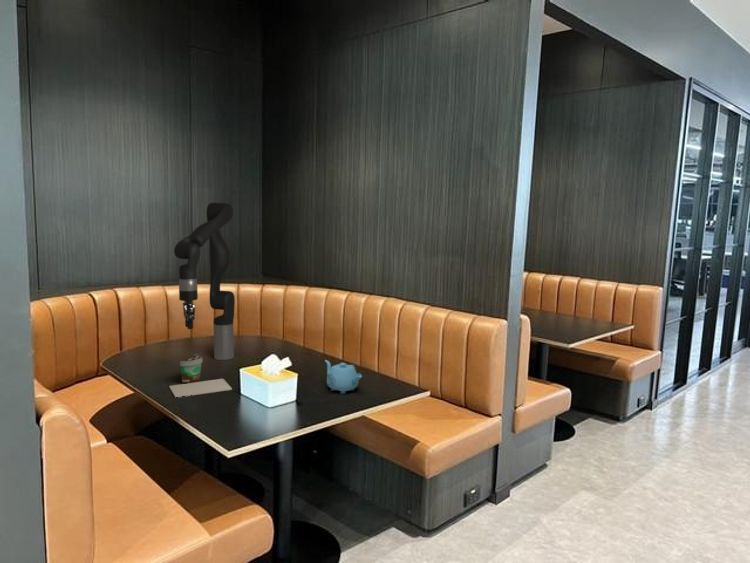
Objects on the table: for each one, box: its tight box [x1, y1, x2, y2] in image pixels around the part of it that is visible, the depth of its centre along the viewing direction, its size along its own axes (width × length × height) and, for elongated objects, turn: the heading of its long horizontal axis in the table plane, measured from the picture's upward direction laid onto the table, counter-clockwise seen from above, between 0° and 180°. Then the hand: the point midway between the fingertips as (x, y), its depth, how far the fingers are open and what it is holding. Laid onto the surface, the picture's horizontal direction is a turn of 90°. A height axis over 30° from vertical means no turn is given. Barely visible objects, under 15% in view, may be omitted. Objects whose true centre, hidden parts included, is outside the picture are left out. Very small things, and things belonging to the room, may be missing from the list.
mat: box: [168, 378, 233, 398], centre depth 224 cm, size 14×22×1 cm, turn 120°
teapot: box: [324, 359, 363, 395], centre depth 225 cm, size 15×14×11 cm
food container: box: [179, 353, 204, 383], centre depth 232 cm, size 12×6×10 cm, turn 168°
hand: (189, 327), depth 238 cm, fingers open, 4 cm apart
